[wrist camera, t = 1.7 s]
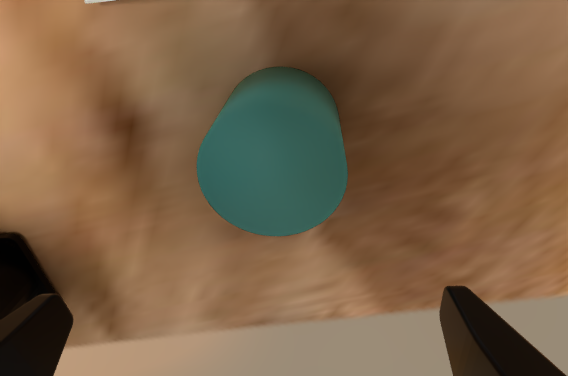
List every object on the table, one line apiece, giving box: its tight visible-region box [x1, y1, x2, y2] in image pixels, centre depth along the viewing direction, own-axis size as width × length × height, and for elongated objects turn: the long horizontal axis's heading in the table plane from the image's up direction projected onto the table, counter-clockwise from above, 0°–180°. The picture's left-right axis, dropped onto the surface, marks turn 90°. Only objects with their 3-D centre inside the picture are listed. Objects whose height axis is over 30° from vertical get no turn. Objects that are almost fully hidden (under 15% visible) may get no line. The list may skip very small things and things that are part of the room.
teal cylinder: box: [197, 67, 348, 236], centre depth 15 cm, size 6×6×5 cm
